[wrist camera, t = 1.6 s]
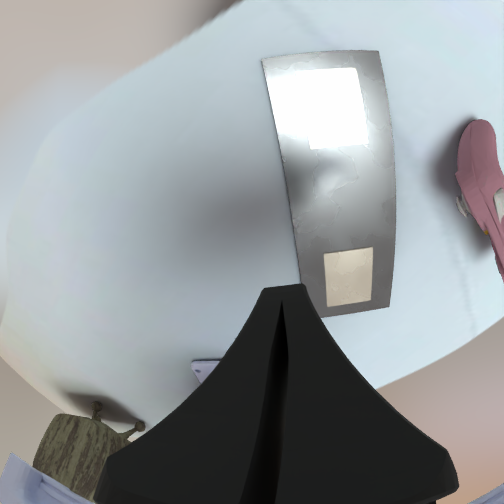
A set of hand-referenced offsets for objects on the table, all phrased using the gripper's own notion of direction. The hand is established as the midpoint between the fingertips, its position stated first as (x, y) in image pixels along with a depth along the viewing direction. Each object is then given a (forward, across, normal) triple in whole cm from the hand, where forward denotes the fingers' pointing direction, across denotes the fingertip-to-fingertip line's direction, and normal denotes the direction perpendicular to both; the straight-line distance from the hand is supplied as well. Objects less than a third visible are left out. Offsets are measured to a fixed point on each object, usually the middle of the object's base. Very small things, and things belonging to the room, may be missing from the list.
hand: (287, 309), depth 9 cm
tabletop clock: (+7, +30, +25) cm, 39 cm away
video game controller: (+8, -14, 0) cm, 16 cm away
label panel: (+7, -4, -1) cm, 8 cm away
